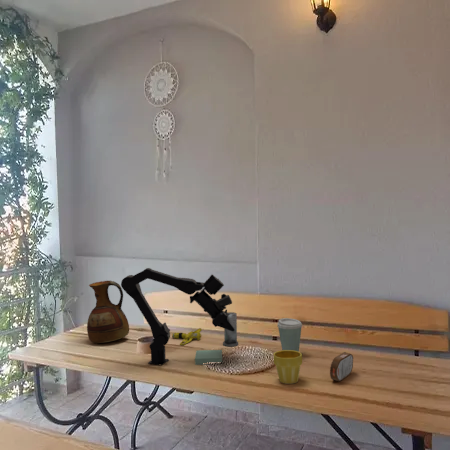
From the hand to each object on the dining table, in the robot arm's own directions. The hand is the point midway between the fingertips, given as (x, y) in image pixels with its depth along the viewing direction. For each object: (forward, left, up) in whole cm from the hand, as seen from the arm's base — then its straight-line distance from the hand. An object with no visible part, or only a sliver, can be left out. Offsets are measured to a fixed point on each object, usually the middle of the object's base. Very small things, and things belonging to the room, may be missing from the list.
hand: (233, 328), depth 185 cm
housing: (-1, +1, -7) cm, 7 cm away
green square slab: (-3, +10, -13) cm, 17 cm away
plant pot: (-16, -27, -13) cm, 34 cm away
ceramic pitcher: (+10, +70, -13) cm, 72 cm away
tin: (-7, -45, -13) cm, 47 cm away
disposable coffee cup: (+13, -21, -13) cm, 28 cm away
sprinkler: (+22, +34, -14) cm, 43 cm away
